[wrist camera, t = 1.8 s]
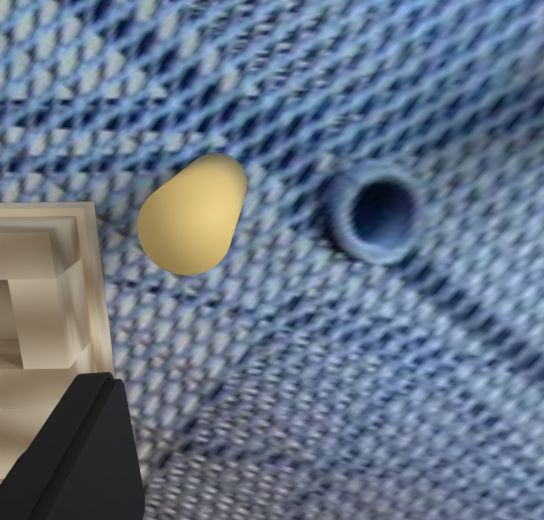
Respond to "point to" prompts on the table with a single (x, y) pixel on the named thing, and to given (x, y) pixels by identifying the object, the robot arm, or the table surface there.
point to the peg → (193, 215)
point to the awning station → (47, 314)
